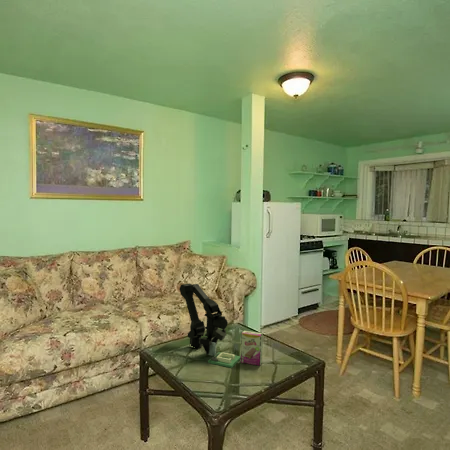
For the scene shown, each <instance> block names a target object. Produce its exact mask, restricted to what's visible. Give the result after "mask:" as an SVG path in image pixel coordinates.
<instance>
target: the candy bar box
mask: <svg viewBox="0 0 450 450" xmlns="http://www.w3.org/2000/svg"><path fill="white" fill-rule="evenodd" d="M263 336H264V333H263V332H257V331H250V330H242V332H241V335H240V356H241V359H240V363H242V364H245V365H246V364H248V365H253V366H257V367H258V366H259V367H260V366H261V365H262V363H263V347H264V346H263V343H264V342H263V341H264V340H263V339H264V337H263Z"/></svg>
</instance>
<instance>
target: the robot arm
mask: <svg viewBox="0 0 450 450" xmlns="http://www.w3.org/2000/svg"><path fill="white" fill-rule="evenodd" d="M178 290H179V293H180V295H181V297H183V299H184V300H185V303H186V304H185V305H186V307H187V311H188V315H189V319H190V326H189V331H188V333H187V337H188V338H189V345H190V344H191V346H193V347H195V348H196V349H195V350H199V349H201V348H203V349H204V352H205V353H206V355H207V356H210V355H209V350H210V345H211V344H212V342H214V343H216V345H217V344H218V341H224V340H225V338H226V336H227V330H226V328H227V327H228V325H229V324H228V323H229V322H228V320H227V319H226V316H224V315H223V314H222V313H223V312H222V311H221V309H220V306H219V304H218V302H216V301H215V300H213V299H211V298H210V297H209V296H208V295H207V293H205V291H204V290H203V289H202V288H201V287H200V284H199V283H193V284H192V283H190V282H189V283H185V284H184V283H183V284H181V285H180V286H179V289H178ZM194 295H195V296H196V298H198V300H199V301H200V303H201V304H202V305H203V309H204V311H205V314H203V316H205V317H206V326H205V322H204V320H200V318H199V314H198V311H197V307H196V303H195V300H194ZM205 332H206V333H205ZM201 346H202V347H201ZM198 348H199V349H198Z"/></svg>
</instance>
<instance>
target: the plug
mask: <svg viewBox="0 0 450 450" xmlns="http://www.w3.org/2000/svg"><path fill="white" fill-rule="evenodd" d="M215 354H217V344H216V343H214V342H212V344H211V345H210V350H209V355H208V356H212V357H213V356H214V355H215Z"/></svg>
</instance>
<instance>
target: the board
mask: <svg viewBox="0 0 450 450" xmlns="http://www.w3.org/2000/svg"><path fill="white" fill-rule="evenodd" d="M240 361H241V355H237V354H233V353H227V352H219V351H218V352H216V354H215V355H213V356H212V357H210V358H209V359H208V361H207V363H208V364H210V365H211V364H212V365H216V366H221V367H224V368H225V367H226V368H231V369H233V368H234V367H235V366H236V364H238V362H240Z"/></svg>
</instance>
